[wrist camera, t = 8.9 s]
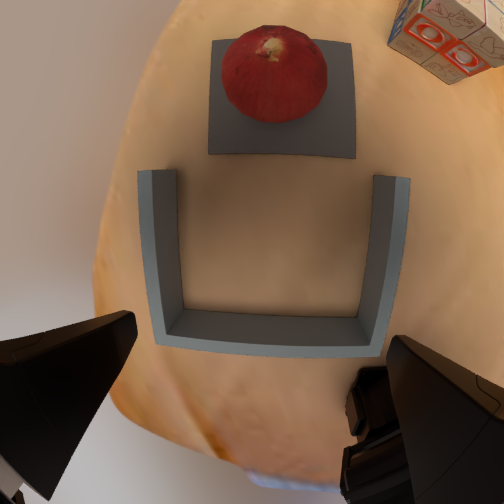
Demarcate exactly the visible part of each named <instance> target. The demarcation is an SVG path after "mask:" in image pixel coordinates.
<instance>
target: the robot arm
mask: <svg viewBox="0 0 504 504" xmlns="http://www.w3.org/2000/svg"><path fill="white" fill-rule="evenodd" d="M137 336H138V330H137V324H136V318H135V314H134V313H133V312H131V311H126V310H122V311H118V312H115V313H111V314H108V315H104V316H100V317H97V318H93V319H90V320H86V321H82V322H79V323H75V324H72V325H68V326H64V327H60V328H56V329H52V330H49V331H46V332H41V333H37V334H33V335H29V336H25V337H20V338H15V339H10V340H4V341H0V504H25V502H24V497H23V493H22V492H21V491H20V490H19V488H20V486H21V485H22V484H23V482H24V483H25V484H26V485H27V486H29V487H30V488H31V489H33V490H34V491H35V492H36V493H38V494H39V495H40V496H42V497H43V498H45V499H46V500H47V501H49V500H50V499H51V497H52V495H53V493H54V491H55V489H56V487H57V485H58V483H59V481H60V479H61V477H62V474H63V473H64V471H65V469H66V467H67V465H68V463H69V461H70V459H71V456H72V455H73V453H74V452H75V449H76V448H77V446H78V444H79V442H80V441H81V439H82V437H83V435H84V433H85V432H86V429H87V428H88V426H89V424H90V422H91V421H92V419H93V417H94V415H95V414H96V412H97V410H98V409H99V407H100V405H101V403H102V402H103V400H104V398H105V397H106V395H107V393H108V392H109V390H110V388H111V387H112V385H113V383H114V382H115V380H116V378H117V377H118V375H119V373H120V372H121V370H122V368H123V366H124V364H125V362H126V360H127V358H128V356H129V354H130V351H131V349H132V347H133V345H134V343H135V341H136V339H137ZM386 363H387V367H376V368H363V369H361V370H359V372H358V374H357V378H356V381H355V384H354V387H352V388H351V390H350V393H349V396H348V399H347V402H346V405H345V407H346V411H345V413H346V416H347V418H348V423H349V428H350V433H351V435H352V436H357V441H358V443H357V444H355V445H353V446H348V447H346V448H344V452H343V459H342V470H341V479H340V489H341V495H342V496H344V498H345V500H346V502H347V503H348V504H504V388H502V387H500V386H498V385H496V384H494V383H492V382H490V381H488V380H486V379H484V378H483V377H481V376H479V375H477V374H476V375H475V373H473V372H471V371H470V370H468V369H466V368H464V367H462V366H461V365H459V364H457V363H455V362H453V361H451V360H450V359H448V358H446V357H444V356H442V355H440V354H439V353H437V352H435V351H433V350H431V349H430V348H428V347H426V346H424V345H422V344H420V343H419V342H417V341H415V340H413V339H411V338H409V337H408V336H406V335H395V336H393V338H392V340H391V344H390V347H389V350H388V353H387V356H386ZM363 373H365V374H363Z"/></svg>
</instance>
